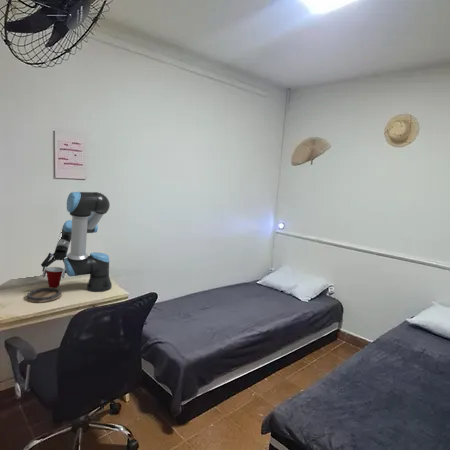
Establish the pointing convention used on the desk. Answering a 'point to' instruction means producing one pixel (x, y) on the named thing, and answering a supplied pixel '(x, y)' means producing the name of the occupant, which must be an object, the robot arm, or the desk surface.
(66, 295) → the desk surface
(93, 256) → the robot arm
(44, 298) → the cup holder
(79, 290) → the desk surface
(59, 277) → the plastic cup
